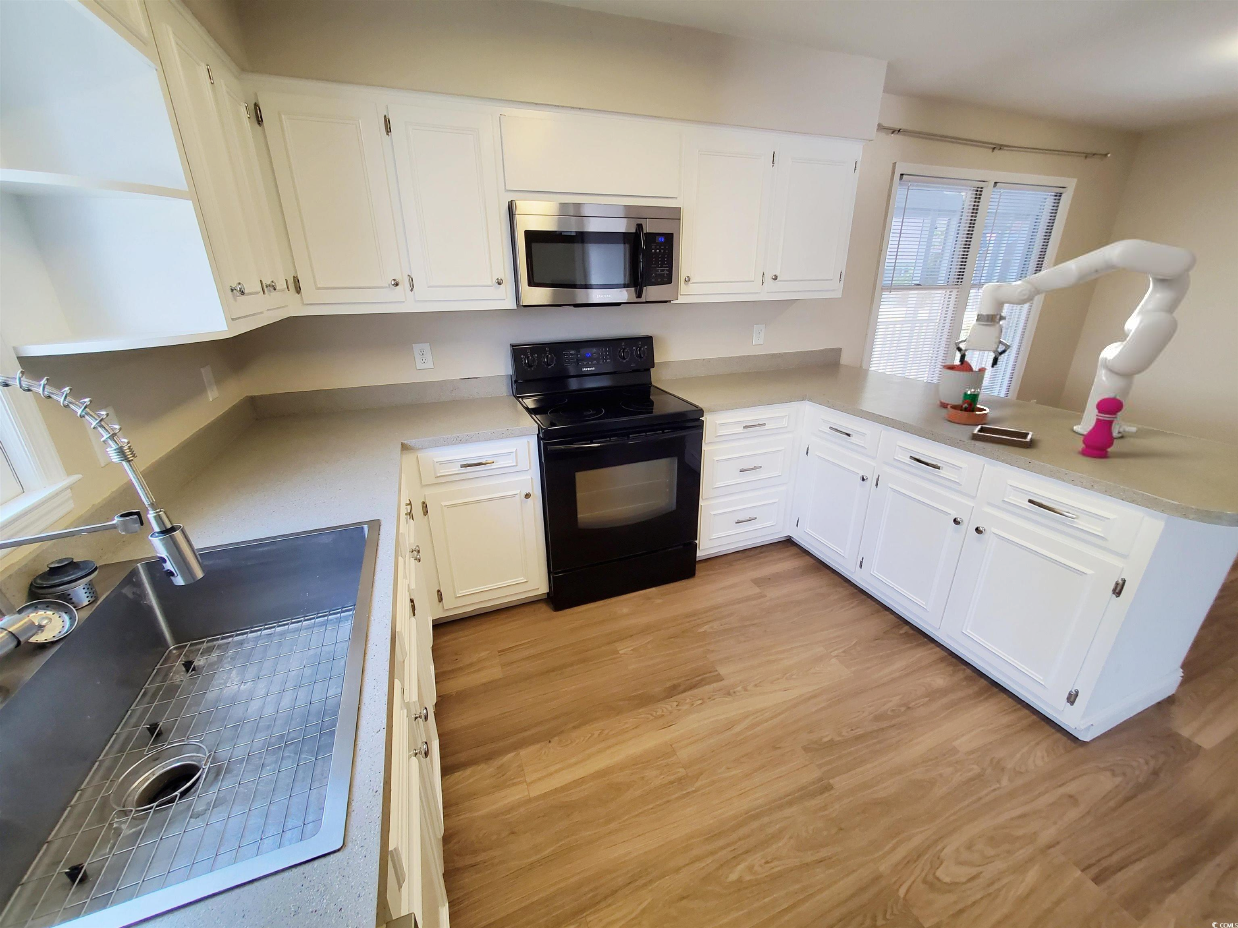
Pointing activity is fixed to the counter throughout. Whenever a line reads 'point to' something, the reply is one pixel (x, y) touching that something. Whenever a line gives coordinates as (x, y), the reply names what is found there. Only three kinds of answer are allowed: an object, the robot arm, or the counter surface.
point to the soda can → (969, 400)
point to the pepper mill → (1102, 428)
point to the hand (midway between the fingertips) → (977, 366)
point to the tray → (1002, 436)
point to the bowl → (967, 415)
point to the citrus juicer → (958, 382)
